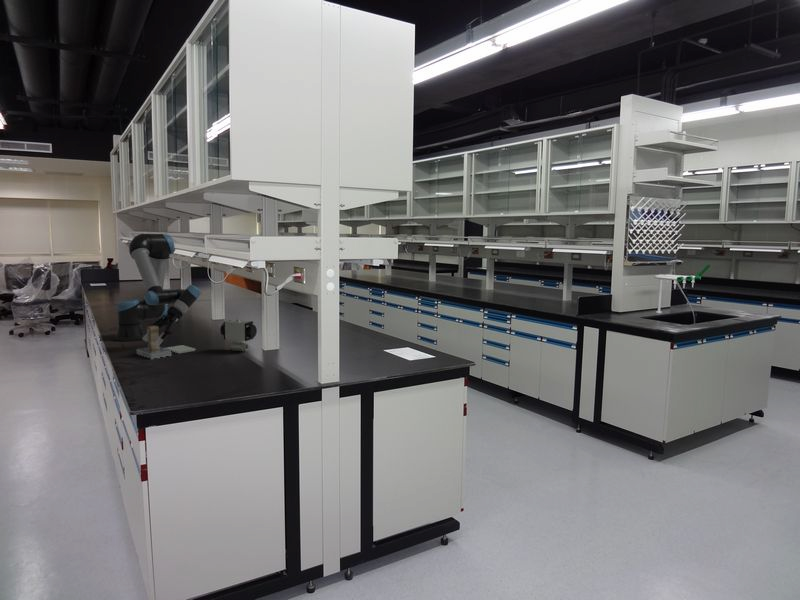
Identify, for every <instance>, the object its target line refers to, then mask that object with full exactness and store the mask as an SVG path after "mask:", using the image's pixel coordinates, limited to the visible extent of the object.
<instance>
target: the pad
mask: <svg viewBox="0 0 800 600" xmlns="http://www.w3.org/2000/svg"><path fill="white" fill-rule="evenodd" d="M164 348H165V349H169V350H171V351H172V352H171V353H174V352H175V354H177V353H178V354H184V353H189V352H195V350H196V348H195V347H190V346H187V345H183V344H182V345H181V344H180V345H175V346H168V347H167V346H166V347H164ZM196 351H197V350H196Z"/></svg>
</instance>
